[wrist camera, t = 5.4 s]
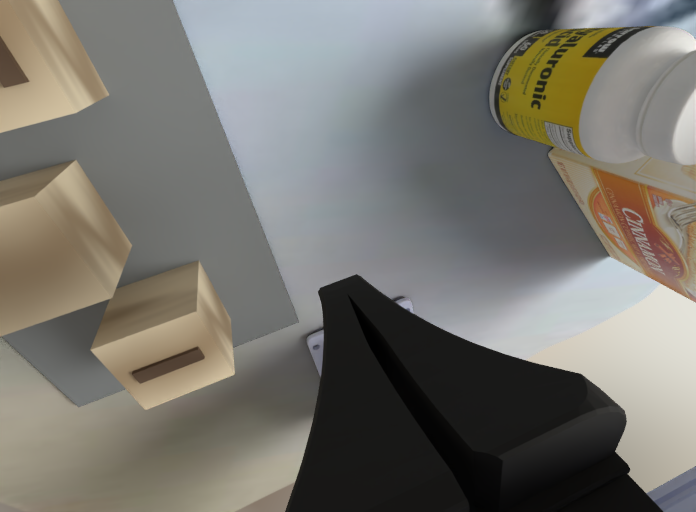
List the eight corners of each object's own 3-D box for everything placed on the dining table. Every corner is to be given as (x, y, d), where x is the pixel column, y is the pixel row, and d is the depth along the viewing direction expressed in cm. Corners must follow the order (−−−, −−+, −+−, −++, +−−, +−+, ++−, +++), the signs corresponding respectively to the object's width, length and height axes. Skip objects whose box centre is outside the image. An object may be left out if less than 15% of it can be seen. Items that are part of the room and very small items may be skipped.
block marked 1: (230, 318, 22) (235, 377, 18) (156, 346, 21) (144, 413, 17) (198, 260, 19) (196, 314, 16) (113, 289, 19) (88, 353, 15)
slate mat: (297, 319, 24) (298, 322, 24) (80, 403, 22) (78, 407, 22) (111, -155, 12) (109, -159, 11) (-429, -71, 10) (-447, -74, 9)
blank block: (132, 245, 18) (112, 297, 14) (36, 276, 17) (-11, 340, 14) (76, 159, 15) (34, 196, 12) (-39, 192, 15) (-121, 242, 11)
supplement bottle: (537, 4, 19) (779, -22, 11) (578, 75, 22) (793, 95, 14) (467, 95, 20) (638, 130, 12) (515, 150, 23) (678, 208, 15)
